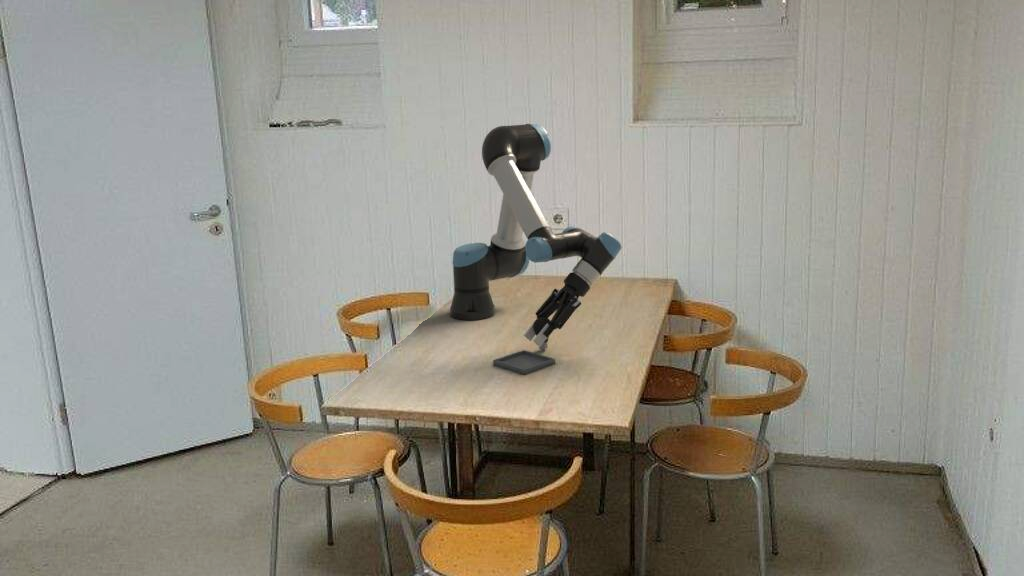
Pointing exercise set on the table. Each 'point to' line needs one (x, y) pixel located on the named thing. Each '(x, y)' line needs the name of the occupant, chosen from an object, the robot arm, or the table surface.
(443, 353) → the table surface
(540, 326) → the light bulb
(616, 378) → the table surface
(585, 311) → the table surface
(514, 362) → the tray
